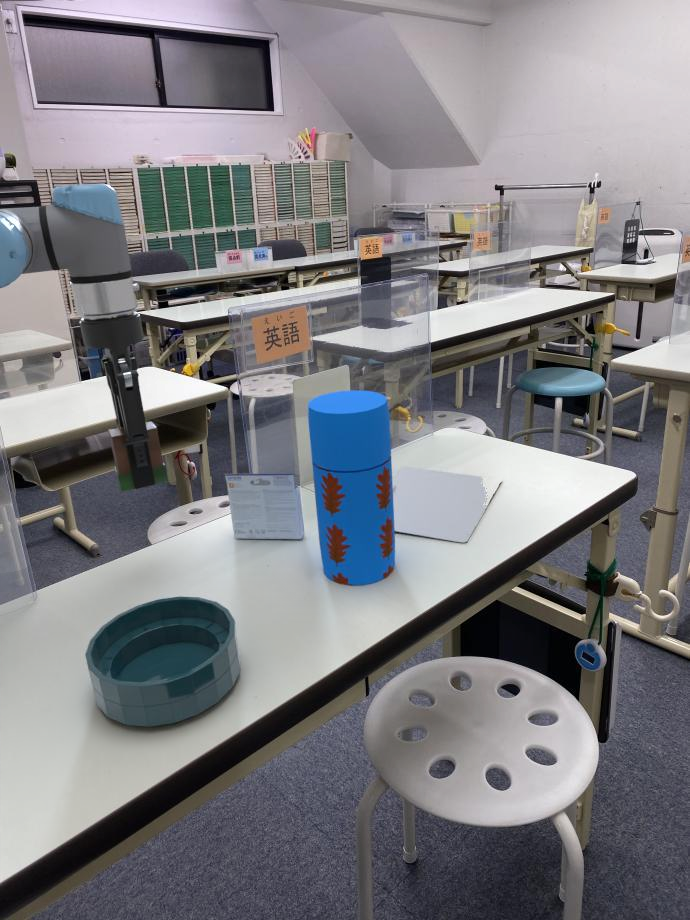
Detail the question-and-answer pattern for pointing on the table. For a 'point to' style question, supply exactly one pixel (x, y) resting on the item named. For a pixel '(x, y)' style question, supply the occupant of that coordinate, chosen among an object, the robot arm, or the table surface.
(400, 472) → the white flat square sheet
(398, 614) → the table surface
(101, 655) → the bowl
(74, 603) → the table surface
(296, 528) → the ink box
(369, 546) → the thermos
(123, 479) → the sponge
